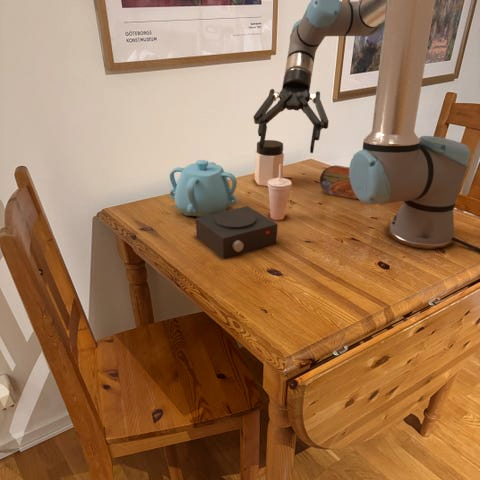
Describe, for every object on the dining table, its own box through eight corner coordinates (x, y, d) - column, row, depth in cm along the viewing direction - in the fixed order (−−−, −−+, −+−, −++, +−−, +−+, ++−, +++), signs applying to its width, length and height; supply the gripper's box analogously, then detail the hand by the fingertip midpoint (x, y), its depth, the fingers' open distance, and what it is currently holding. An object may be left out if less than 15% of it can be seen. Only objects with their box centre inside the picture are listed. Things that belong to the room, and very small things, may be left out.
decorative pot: (242, 218, 120) (243, 167, 112) (184, 226, 115) (181, 174, 107) (221, 197, 132) (220, 150, 124) (168, 204, 127) (164, 155, 119)
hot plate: (279, 245, 107) (280, 223, 104) (226, 260, 100) (225, 238, 97) (247, 224, 117) (247, 203, 113) (196, 237, 110) (195, 215, 107)
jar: (267, 188, 138) (269, 149, 131) (249, 182, 143) (250, 143, 136) (286, 182, 143) (289, 143, 136) (268, 176, 148) (270, 138, 141)
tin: (317, 192, 136) (321, 164, 131) (321, 189, 138) (324, 161, 133) (366, 201, 131) (371, 172, 126) (369, 198, 133) (374, 169, 128)
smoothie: (287, 212, 123) (291, 161, 115) (290, 222, 118) (295, 169, 110) (264, 212, 123) (267, 161, 115) (266, 222, 118) (269, 169, 110)
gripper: (342, 88, 124) (332, 159, 121) (254, 84, 128) (242, 152, 125) (344, 69, 116) (334, 144, 113) (251, 65, 121) (238, 137, 118)
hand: (286, 148), depth 119 cm, fingers open, 13 cm apart
